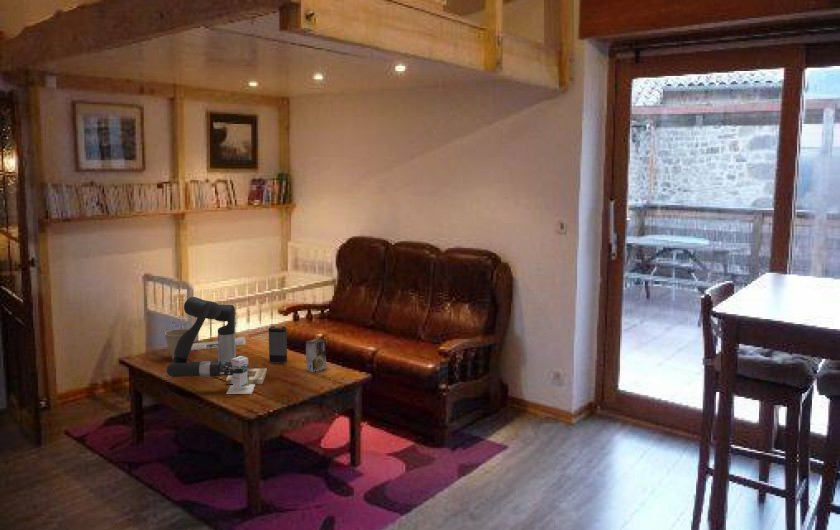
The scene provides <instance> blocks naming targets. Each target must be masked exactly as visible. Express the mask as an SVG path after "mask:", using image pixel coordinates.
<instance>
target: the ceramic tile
mask: <svg viewBox="0 0 840 530" xmlns="http://www.w3.org/2000/svg"><path fill="white" fill-rule="evenodd" d="M254 387H255V388H256V384H249V386H246V387H243V388H241V389H240V388H236V387H233V385H229V387H228V389H227V391H226V394H250V395H252V394H253V392H254V390H255V388H254ZM226 394H225V395H226Z"/></svg>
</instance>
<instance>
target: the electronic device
mask: <svg viewBox="0 0 840 530" xmlns="http://www.w3.org/2000/svg"><path fill="white" fill-rule="evenodd" d="M287 333H288V332H287V327H286V326H281V327H276V326H274V325H273V326H270V327H268V356H269V358H268V359H269V360H268V361H269V364H279V363H284V364H286V363H287V362H288V343H287V342H288V339H287V338H288V335H287Z"/></svg>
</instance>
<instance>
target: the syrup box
mask: <svg viewBox="0 0 840 530" xmlns="http://www.w3.org/2000/svg"><path fill="white" fill-rule="evenodd" d="M232 368H233V369H243V373H239V374H233V375H232V383H233V387H236V388H240V389H241V388H243V387H246V386H249V377H250V376H249V369H250V368H249V357H248V356H245V355H244V356H243V355H239V356H236V358H233V359H232Z"/></svg>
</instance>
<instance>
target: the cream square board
mask: <svg viewBox="0 0 840 530" xmlns="http://www.w3.org/2000/svg"><path fill="white" fill-rule="evenodd" d="M267 368H268V367H267ZM267 368H249V384H255V385H262V384H263V383H264V380H265V378H266V375H267V372H268V370H267ZM226 384H233V383H232V375H227V377H226V379H225V385H226Z"/></svg>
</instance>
